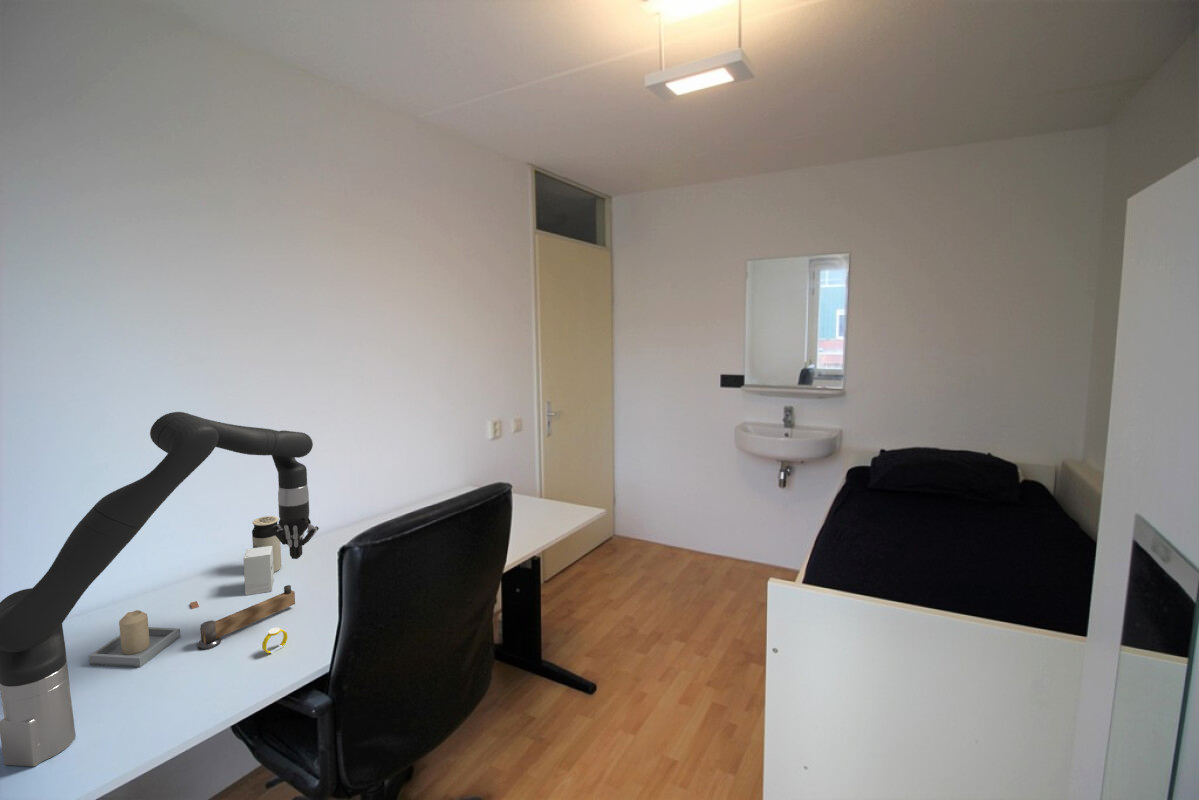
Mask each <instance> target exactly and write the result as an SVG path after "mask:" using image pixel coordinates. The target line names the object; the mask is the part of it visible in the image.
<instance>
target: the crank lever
mask: <svg viewBox="0 0 1199 800" xmlns="http://www.w3.org/2000/svg"><path fill="white" fill-rule="evenodd" d="M295 593H296V592H295V591H293V589H292V586H291V585H290V584H287V585H285V586H284V587H283V592H282V593H279V594H278V595H277V594H276V595H275V596H272V597H270V598H268V599H265V600H263V601H260V602H258V603H256V604H254V605H251V606H248V607H246V608H243V609H242V610H238V611H236V612H234V613H232V614H231V613H230V614H229V615H226V616H225V617H221V618H220V619H218V620H207V621H204V622H202V623H201V624H200V627H199V632H200V634H199V635H200V640H201V642H202V643H204V644H206V643H211V642H213V641H215V640H216V639H217V638H219V637H221V638H222V637H223V636H225V635H228V634H230V633H233V632H235V631H237V630H239V629H242V628H244V627H246V626H248V625H250V624H253V623H255V622H258V621H260V620H263V619H265V618H266V617H269V616H271V615H273V614H275V613H278V612H281V611H282V610H285V609H287V608H290V607H292V606H294V605H296V595H295Z"/></svg>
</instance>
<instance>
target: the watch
mask: <svg viewBox="0 0 1199 800" xmlns="http://www.w3.org/2000/svg"><path fill="white" fill-rule="evenodd" d="M280 633H282V635H283V637H282V640H281V642H280V643H279V645H282V646H283V645H284V646H285V645H286V644H287V641H288V632H286V631H285V630H284V629H282V628H280V627H278V626H277V627H272V628H270V629H269V630H268V632H267V635H266V636H265V637H264V639H263V641H262V644H261V645H262V650H263V651H264V652H265V653H266V654H269V653H271V652H270V650H269V649H267V645H268V642H269V640H270V639H271V637H273V636H274V637H275V636H277V635H279V634H280Z"/></svg>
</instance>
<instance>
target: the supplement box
mask: <svg viewBox="0 0 1199 800" xmlns="http://www.w3.org/2000/svg"><path fill="white" fill-rule="evenodd" d="M243 574H244V576H243V577H244V593H245V596H251V595H257V594H263V593H270V592H273V591H272V590H273V585H274V581H275V578H274V577H275V576H274V575H275V572H274V568H273V547H272V546H266V547H258V548H253V547H252V548H247V549H246V550H245V553H244V556H243Z"/></svg>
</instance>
